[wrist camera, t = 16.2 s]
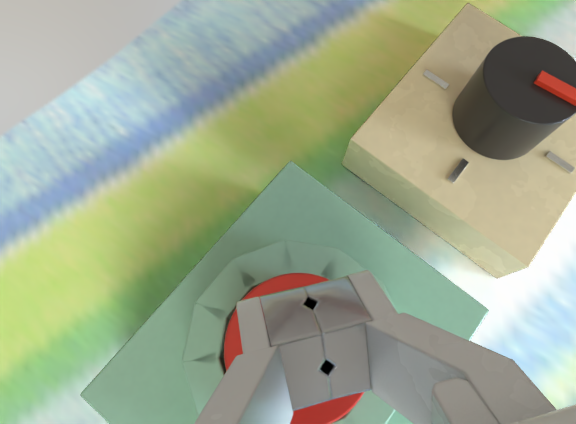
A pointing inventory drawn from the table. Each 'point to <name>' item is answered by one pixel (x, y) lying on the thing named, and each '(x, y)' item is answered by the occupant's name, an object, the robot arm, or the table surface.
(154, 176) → the table surface
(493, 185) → the panel
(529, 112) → the knob
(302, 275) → the button
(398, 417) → the green push button box
